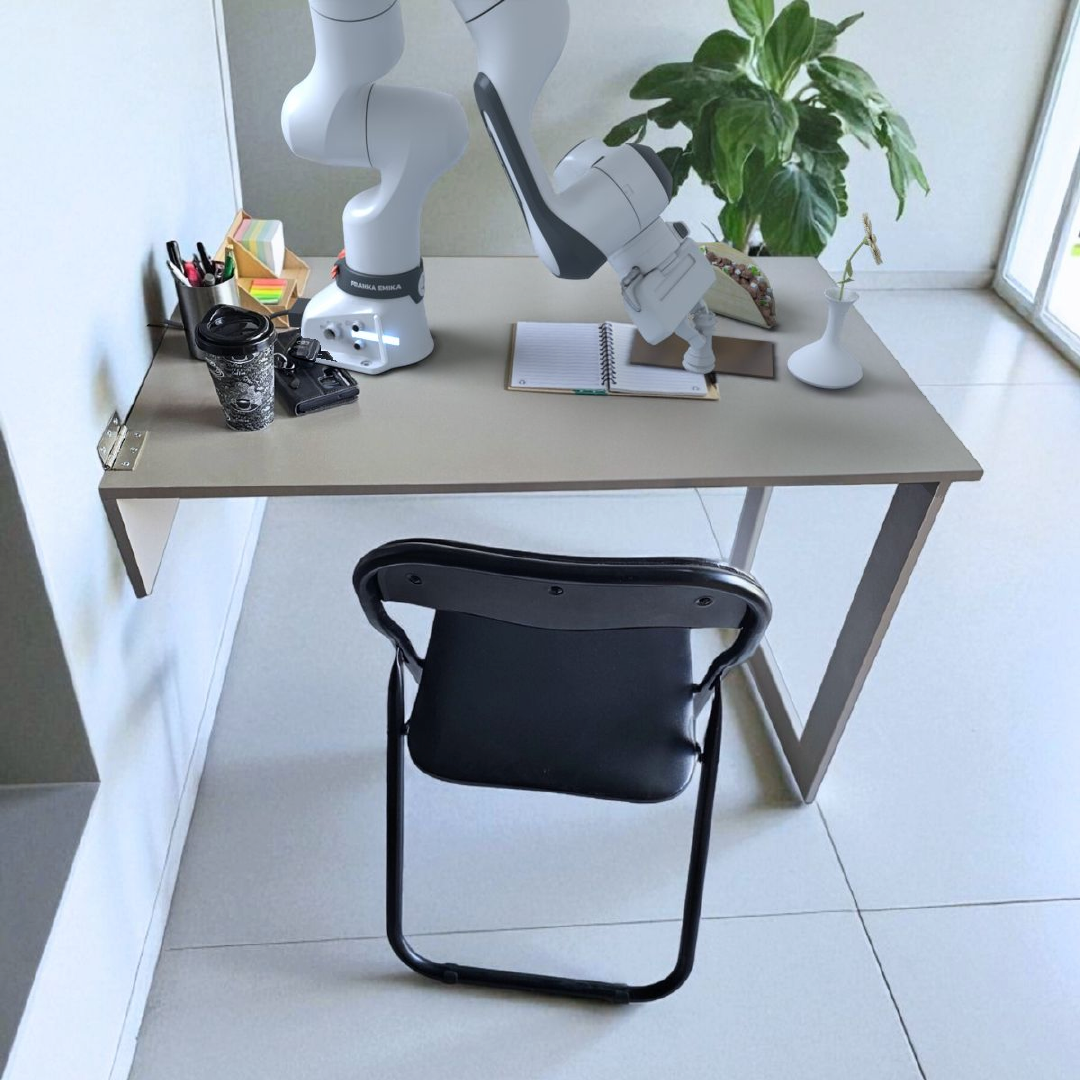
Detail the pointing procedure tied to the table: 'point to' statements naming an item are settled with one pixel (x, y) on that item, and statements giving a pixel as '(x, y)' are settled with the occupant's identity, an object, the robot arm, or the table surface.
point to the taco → (738, 286)
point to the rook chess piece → (703, 357)
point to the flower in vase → (834, 334)
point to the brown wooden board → (728, 353)
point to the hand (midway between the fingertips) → (706, 339)
